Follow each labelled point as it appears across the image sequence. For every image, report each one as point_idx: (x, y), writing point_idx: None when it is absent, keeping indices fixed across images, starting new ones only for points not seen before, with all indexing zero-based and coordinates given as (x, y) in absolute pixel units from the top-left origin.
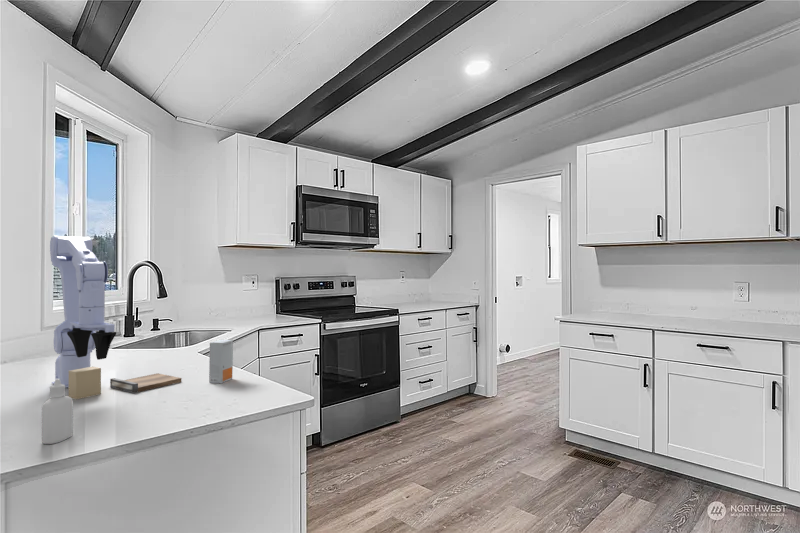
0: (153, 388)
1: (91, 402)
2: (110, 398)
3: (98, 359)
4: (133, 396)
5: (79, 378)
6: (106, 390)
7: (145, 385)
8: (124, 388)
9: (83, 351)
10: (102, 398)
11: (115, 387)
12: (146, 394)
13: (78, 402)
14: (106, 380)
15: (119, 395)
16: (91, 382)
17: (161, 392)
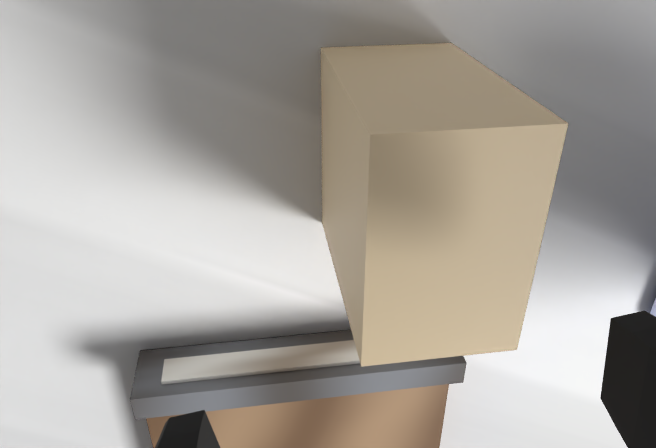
0: None
1: (101, 76)
2: (116, 211)
3: (173, 417)
4: (43, 318)
5: (352, 138)
6: None
7: None
8: (268, 349)
9: (654, 430)
10: (168, 178)
11: None
12: (33, 379)
13: (194, 12)
14: None
15: (157, 277)
16: (340, 214)
17: (13, 441)
